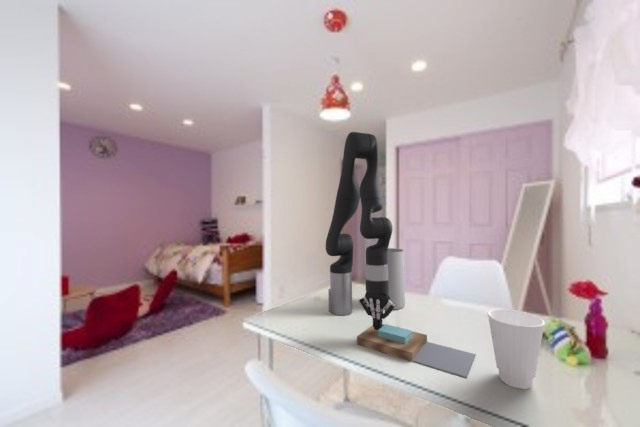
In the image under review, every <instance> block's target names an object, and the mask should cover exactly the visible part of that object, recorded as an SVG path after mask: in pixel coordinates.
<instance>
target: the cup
mask: <svg viewBox="0 0 640 427" xmlns="http://www.w3.org/2000/svg"><path fill="white" fill-rule="evenodd" d="M487 317H488V322H489V328H490V334H491V340H492V346H493V353H494V360H495V363H496V368H497V369H498V376H499V379H500V380H501V381H502V382H503V383H504V384H506V385H508V386H510V387H513V388H516V389H520V390H522V389H523V390H528V389H531V388H532V387H533V383H534V378H535V377H536V374H537V368H538V367H537V366H538V362H539V356H540V349H541V344H542V341H543V340H542V339H543V335H544V334H543V333H544V329H545V326H546V325H545V324H546V322H545V320H544V319H542V318H541V317H539V316H537V315H534V314H532V313H529V312H525V311H522V310H516V309H515V310H514V309H509V308H507V309H506V308H497V309H496V308H495V309H491V310H489V311H488V312H487Z"/></svg>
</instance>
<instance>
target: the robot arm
mask: <svg viewBox="0 0 640 427" xmlns="http://www.w3.org/2000/svg"><path fill="white" fill-rule="evenodd" d="M378 144H379V143H378V140H377V137H376V136H375V135H374V134H371V133H367V132H366V133H365V132H357V131H351V132H349V133H348V134H347V135H346V139H345V142H344V147H343V156H342V164H341V165H342V167H341V172H340V179H339V182H338V183H339V184H338V188H337V191H336V192H337V193H336V196H335V202H334V203H335V204H334V208H333V214H332V219H331V222H330V225H329V229H328V233H327V235H326V236H327V237H326V239H325V252H326V253H327V255H328V256H330V257H339V258H338V259H337V260H335V262H333V263H331V264H330V266H329V279H330V280H329V282H330V283H329V284H330V288H328V312H330V313H331V314H332V315H336V316H348V315H350V314H352V313H353V280H352V279H353V275H352V274H353V273H352V272H353V270H352V269H353V265H354V241H353V238H352V235H350V234H349V233H342V231H343V229H344V227H345V226H346V225H347V223H348V222H349V221H350V219H351V218H352V217H353V216H354V215H355V213H357V210H358V208H359V203H361V216H360V224H359V225H360V226H359V232H360V235H361V236H362V237H363V238H364V239H366V240H374V239H377V241H376V243H375V244H373V245H369V246H367V247H366V249H365V274H364V275H365V294H364V297H361V298H360V299H359V300H358V302H359V303H360V305H361V306H362V308H363V310H364V311H365V313H366V314H367V316H370V317H371V318H372V325H373V327H374V329H375V330H379V329H380V328H381V327H382V324H383V320H384V319H386V318H387V317H389V315H390V314H392V312H393V311H394V310H393V309H394V308H395V307H396V304H395V303H392V302H391V301H390V297H389V294H388V292H389V281H388V278H389V275H388V265H387V251H388V248H390V246H389V245H390V241H391V238H392V234H393V224H392V221H391V219H390V218H388V217H381V216H380V217H372V214H373V213H378V212H380V211H382V209H383V206H384V205H383V199H382V194H381V187H380V180H379V178H380V177H379V148H378V146H379V145H378ZM356 159H360V160H365V161H366V171H365V173H364V176H363V178H362V180H361V182H360V185H359V183H358V180H357V177H356V174H355V162H356ZM387 303H388V305H387ZM386 305H387V308H388V309H384V307H385V306H386Z"/></svg>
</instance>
